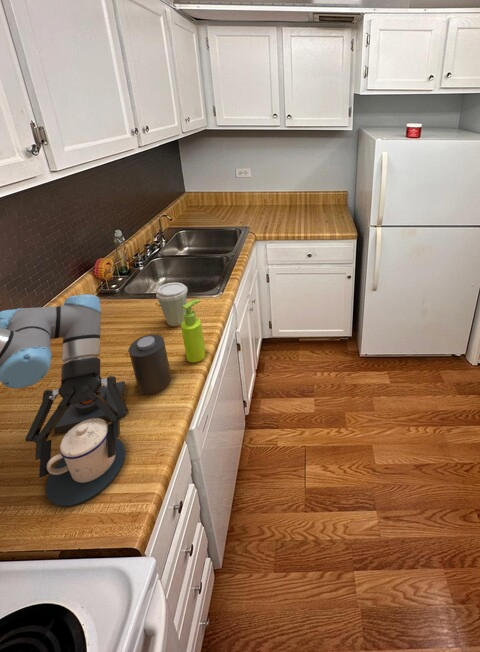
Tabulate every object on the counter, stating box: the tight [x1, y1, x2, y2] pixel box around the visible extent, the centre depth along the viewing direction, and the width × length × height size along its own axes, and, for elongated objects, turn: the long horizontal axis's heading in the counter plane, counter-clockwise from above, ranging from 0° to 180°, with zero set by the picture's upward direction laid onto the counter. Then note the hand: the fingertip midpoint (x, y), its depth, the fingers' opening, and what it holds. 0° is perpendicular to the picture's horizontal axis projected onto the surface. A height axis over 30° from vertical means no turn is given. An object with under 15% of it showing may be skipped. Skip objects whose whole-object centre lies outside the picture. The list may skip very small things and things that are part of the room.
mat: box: [45, 438, 126, 508], centre depth 75 cm, size 15×15×1 cm
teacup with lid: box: [47, 418, 116, 483], centre depth 73 cm, size 12×9×12 cm
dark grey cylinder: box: [128, 334, 173, 396], centre depth 96 cm, size 9×11×15 cm
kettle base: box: [53, 380, 127, 434], centre depth 89 cm, size 14×11×4 cm
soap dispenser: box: [180, 298, 206, 363], centre depth 105 cm, size 6×7×20 cm
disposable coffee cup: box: [155, 282, 188, 327], centre depth 122 cm, size 11×11×15 cm
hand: (79, 466), depth 71 cm, fingers closed on teacup with lid, 12 cm apart
